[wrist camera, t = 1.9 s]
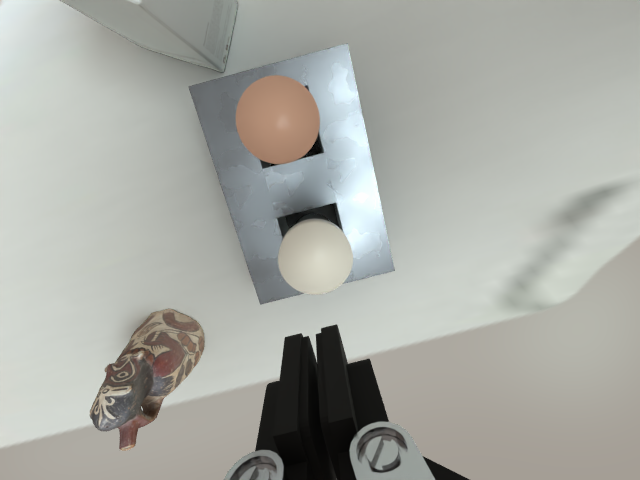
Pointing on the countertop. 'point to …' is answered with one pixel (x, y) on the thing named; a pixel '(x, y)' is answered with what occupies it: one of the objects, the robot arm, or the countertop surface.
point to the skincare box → (170, 26)
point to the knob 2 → (315, 255)
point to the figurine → (147, 373)
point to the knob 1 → (277, 119)
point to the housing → (298, 169)
